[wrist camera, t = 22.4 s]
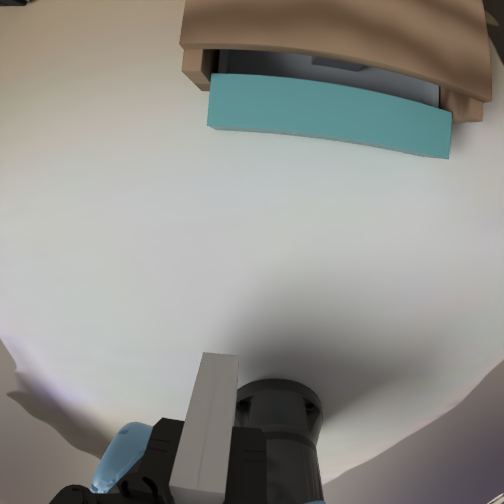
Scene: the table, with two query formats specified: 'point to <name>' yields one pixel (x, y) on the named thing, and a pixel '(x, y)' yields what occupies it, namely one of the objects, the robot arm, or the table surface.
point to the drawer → (327, 103)
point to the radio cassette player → (13, 2)
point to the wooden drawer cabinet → (353, 40)
